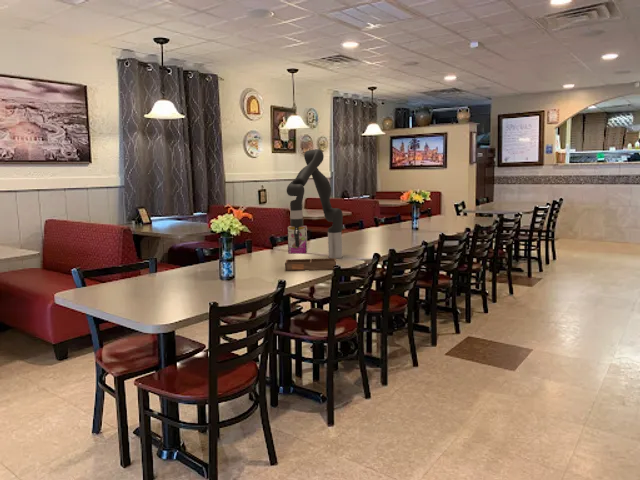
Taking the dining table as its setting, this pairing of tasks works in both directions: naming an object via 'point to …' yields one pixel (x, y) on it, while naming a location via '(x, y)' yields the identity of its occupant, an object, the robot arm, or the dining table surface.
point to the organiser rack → (310, 264)
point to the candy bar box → (302, 240)
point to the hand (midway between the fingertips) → (297, 245)
